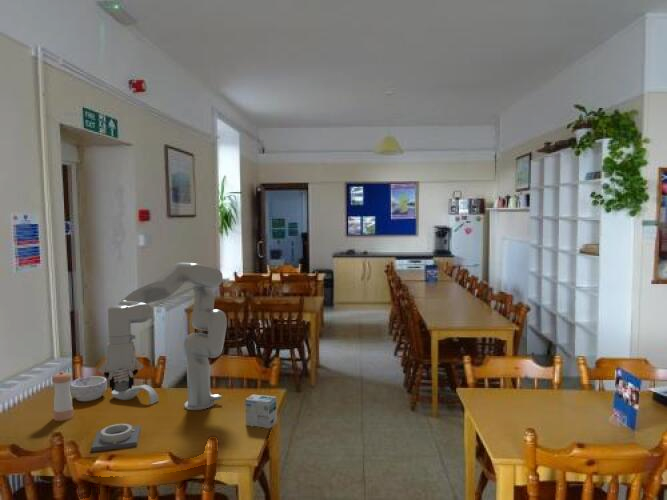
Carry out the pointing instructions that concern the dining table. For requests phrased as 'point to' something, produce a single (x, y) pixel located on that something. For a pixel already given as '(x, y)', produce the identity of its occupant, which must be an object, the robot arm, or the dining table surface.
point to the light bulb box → (261, 411)
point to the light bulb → (121, 381)
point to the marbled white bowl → (88, 388)
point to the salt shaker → (62, 397)
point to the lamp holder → (116, 437)
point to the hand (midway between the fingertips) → (121, 387)
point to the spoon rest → (134, 391)
